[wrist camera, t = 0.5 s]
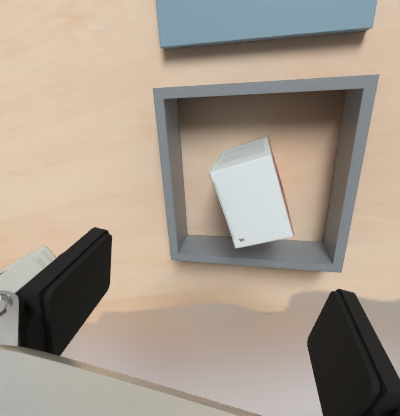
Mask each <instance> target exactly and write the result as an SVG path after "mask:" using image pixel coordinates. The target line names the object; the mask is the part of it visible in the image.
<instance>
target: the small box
mask: <svg viewBox="0 0 400 416" xmlns="http://www.w3.org/2000/svg"><path fill="white" fill-rule="evenodd" d="M209 175H210V178H211V180H212V183H213V185H214V188H215V190H216V193H217V196H218V199H219V201H220V204H221V207H222V210H223V213H224V215H225V218H226V221H227V224H228V227H229V230H230V233H231V236H232V240H233V243H234V247H235V248H240V247H245V246H250V245H255V244H260V243H265V242H270V241H275V240H280V239H285V238H289V237H293V236H294V233H293V229H292V224H291V220H290V216H289V212H288V207H287V203H286V199H285V195H284V192H283V188H282V184H281V180H280V177H279V173H278V170H277V166H276V163H275V160H274V156H273V153H272V149H271V145H270V142H269V138H268V137H264V138H260V139H257V140H254V141H251V142H248V143H245V144H242V145H239V146H236V147H233V148H230V149H227V150H224V151H223V152H222V154H221V155H220V157H219V158H218V160H217V161H216V163H215V164H214V166H213V167H212V169H211V170H210V172H209Z"/></svg>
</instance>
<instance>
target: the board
mask: <svg viewBox="0 0 400 416" xmlns="http://www.w3.org/2000/svg"><path fill="white" fill-rule="evenodd" d="M376 4H377V0H156V6H157V17H158V28H159V39H160V47H161V48H163V49H172V48H183V47H194V46H205V45H216V44H226V43H237V42H248V41H259V40H270V39H281V38H292V37H303V36H314V35H325V34H336V33H347V32H358V31H367V30H369V29H370V28H372V27H373V22H374V16H375V10H376Z"/></svg>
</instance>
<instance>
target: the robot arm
mask: <svg viewBox="0 0 400 416" xmlns="http://www.w3.org/2000/svg"><path fill="white" fill-rule="evenodd" d="M111 247H112V236H111V235H110V234H109V232H108V231H107V230H104V229H100V228H96V227H94V228H92V229H91V230H90V231H89V232H88V233H86V234H85V235H84V236H83V237H82V238H81V239H79V240H78V241H77V242H76V243H75V244H73V245H72V246H71V247H70V248H69V249H68V250H66V251H65V252H64V253H62V254H61V255H59V256H58V257H57V258H56V259H55V260H53V261H52V262H51V263H50V264H49V265H48V266H46V267H45V268H44V269H43V270H42V271H40V272H39V273H38V274H37V275H36V276H34V277H33V278H32V279H31V280H30V281H29V282H27V283H26V284H25V285H24V286H23V287H21V288H20V289H19V290H18V291H17V292H15V293H13V292H10V291H5V290H0V416H260V415H257V414H254V413H250V412H247V411H244V410H241V409H238V408H234V407H231V406H227V405H224V404H221V403H218V402H215V401H211V400H208V399H205V398H201V397H198V396H194V395H191V394H188V393H184V392H181V391H178V390H175V389H171V388H168V387H164V386H161V385H158V384H155V383H151V382H148V381H145V380H141V379H138V378H134V377H131V376H128V375H124V374H121V373H117V372H114V371H111V370H107V369H104V368H100V367H97V366H94V365H90V364H87V363H83V362H79V361H76V360H72V359H69V358H65V357H61V356H60V355H61V354H62V352H63V351H64V350H65V348H66V347H67V345H68V344H69V343H70V341H71V340H72V339H73V337H74V336H75V334H76V333H77V332H78V330H79V329H80V328H81V326H82V325H83V324H84V322H85V321H86V319H87V318H88V317H89V315H90V314H91V313H92V311H93V310H94V308H95V307H96V306H97V304H98V303H99V302H100V300H101V299H102V297H103V296H104V295H105V293H106V292H107V290H108V288H109V285H110V270H111ZM307 346H308V351H309V355H310V360H311V364H312V368H313V373H314V377H315V382H316V385H317V391H318V395H319V399H320V403H321V408H322V413H323V416H400V379H399V377H398V375H397V373H396V371H395V369H394V367H393V365H392V363H391V361H390V360H389V358H388V356H387V354H386V352H385V350H384V348H383V347H382V345H381V342H380V340H379V339H378V337H377V335H376V333H375V331H374V329H373V327H372V326H371V323H370V322H369V319H368V318H367V316H366V314H365V312H364V310H363V308H362V306H361V304H360V302H359V300H358V298H357V297H356V295H355V293H353V292H349V291H345V290H341V289H337V290H336V291H335V292H334V291H332V292H331V293H330V295H329V297H328V299H327V301H326V303H325V305H324V307H323V309H322V311H321V313H320V315H319V317H318V319H317V321H316V323H315V325H314V327H313V329H312V331H311V333H310V335H309V337H308V341H307Z"/></svg>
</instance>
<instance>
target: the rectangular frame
mask: <svg viewBox="0 0 400 416" xmlns="http://www.w3.org/2000/svg"><path fill="white" fill-rule="evenodd" d="M378 78H379V75H363V76H347V77H330V78H314V79H298V80H281V81H265V82H249V83H232V84H216V85H199V86H183V87H167V88H153V95H154V104H155V113H156V123H157V132H158V141H159V151H160V160H161V169H162V179H163V188H164V197H165V207H166V216H167V225H168V235H169V244H170V253H171V260H177V261H191V262H204V263H218V264H231V265H244V266H258V267H271V268H285V269H298V270H312V271H325V272H339V273H341V272H342V267H343V262H344V256H345V251H346V246H347V241H348V235H349V230H350V225H351V220H352V214H353V209H354V204H355V199H356V193H357V188H358V183H359V178H360V173H361V167H362V162H363V157H364V152H365V146H366V141H367V136H368V131H369V125H370V120H371V115H372V110H373V104H374V99H375V94H376V89H377V84H378ZM342 89H346V94H345V100H344V107H343V114H342V120H341V127H340V133H339V140H338V147H337V153H336V160H335V167H334V173H333V180H332V187H331V193H330V200H329V206H328V213H327V220H326V226H325V233H324V240H323V242H313V241H294V240H275V241H270V242H265V243H260V244H255V245H250V246H245V247H240V248H235V247H234V243H233V240H232V237H220V236H201V235H188V233H187V220H186V207H185V194H184V180H183V167H182V154H181V141H180V127H179V114H178V101H177V98H189V97H208V96H227V95H246V94H265V93H284V92H303V91H322V90H342Z"/></svg>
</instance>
